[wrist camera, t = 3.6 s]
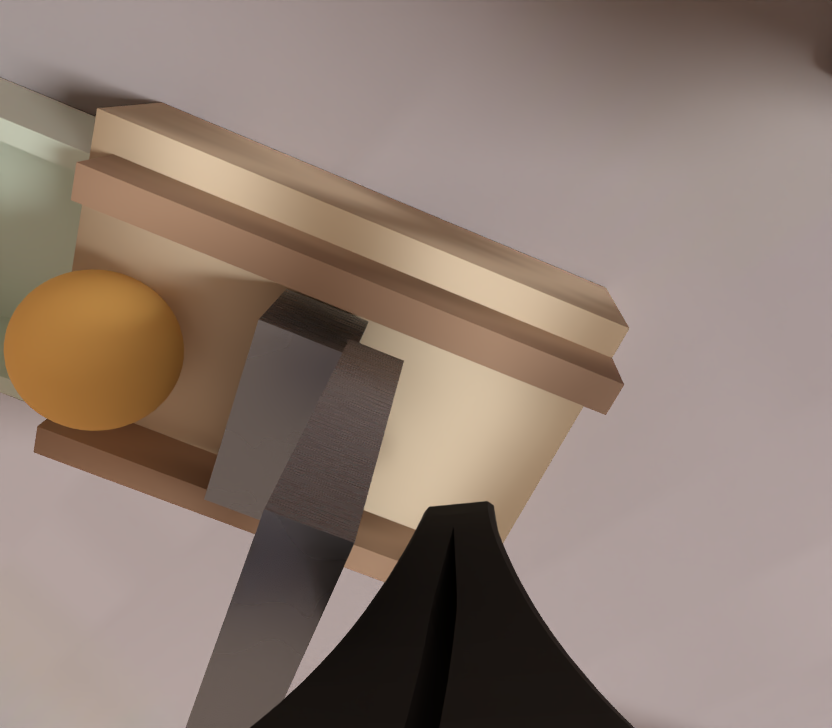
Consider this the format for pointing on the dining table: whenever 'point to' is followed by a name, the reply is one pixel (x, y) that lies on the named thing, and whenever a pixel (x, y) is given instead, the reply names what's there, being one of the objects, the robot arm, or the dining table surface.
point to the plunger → (292, 494)
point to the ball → (93, 350)
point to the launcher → (344, 290)
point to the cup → (36, 196)
